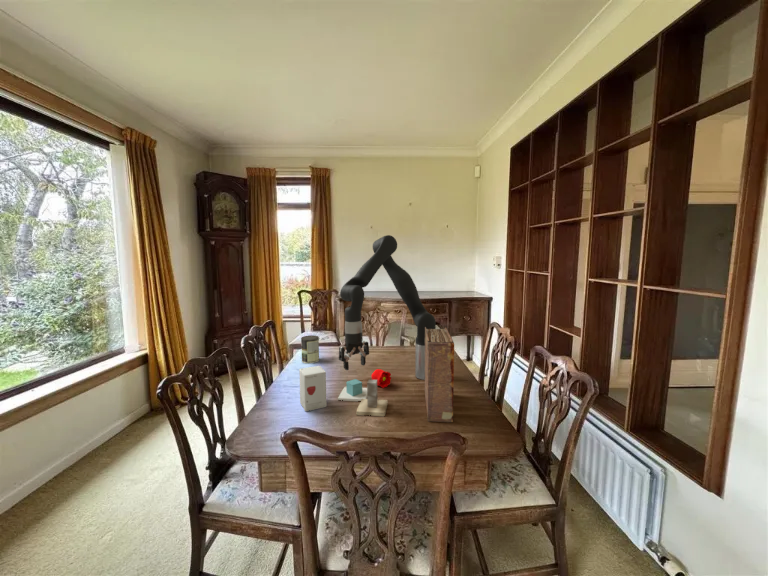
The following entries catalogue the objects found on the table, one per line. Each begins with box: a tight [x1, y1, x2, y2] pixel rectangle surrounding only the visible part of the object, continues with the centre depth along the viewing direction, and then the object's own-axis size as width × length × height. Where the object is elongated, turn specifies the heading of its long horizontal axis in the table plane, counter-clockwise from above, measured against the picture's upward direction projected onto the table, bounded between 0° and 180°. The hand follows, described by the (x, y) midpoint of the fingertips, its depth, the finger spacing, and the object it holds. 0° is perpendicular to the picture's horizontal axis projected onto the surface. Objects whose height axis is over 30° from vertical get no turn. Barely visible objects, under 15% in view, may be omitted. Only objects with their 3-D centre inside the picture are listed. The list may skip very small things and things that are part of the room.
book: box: [424, 327, 455, 423], centre depth 127 cm, size 25×9×30 cm, turn 175°
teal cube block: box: [345, 378, 363, 396], centre depth 139 cm, size 5×5×5 cm
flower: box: [371, 368, 392, 389], centre depth 150 cm, size 8×8×8 cm
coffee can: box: [300, 335, 320, 364], centre depth 187 cm, size 10×10×14 cm
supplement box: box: [299, 365, 327, 412], centre depth 130 cm, size 9×9×15 cm
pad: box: [337, 386, 367, 402], centre depth 140 cm, size 12×12×1 cm
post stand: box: [355, 379, 389, 417], centre depth 126 cm, size 11×11×12 cm
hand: (354, 367), depth 138 cm, fingers open, 8 cm apart
